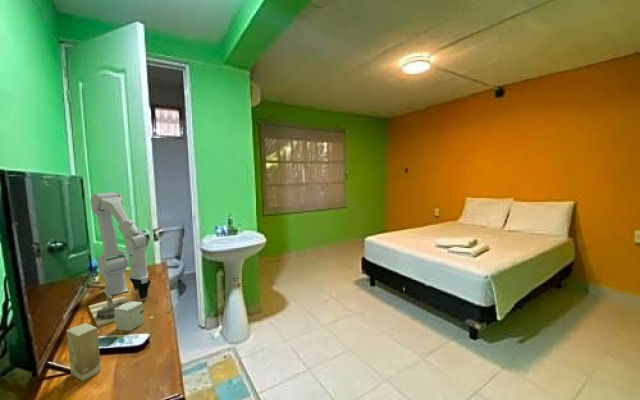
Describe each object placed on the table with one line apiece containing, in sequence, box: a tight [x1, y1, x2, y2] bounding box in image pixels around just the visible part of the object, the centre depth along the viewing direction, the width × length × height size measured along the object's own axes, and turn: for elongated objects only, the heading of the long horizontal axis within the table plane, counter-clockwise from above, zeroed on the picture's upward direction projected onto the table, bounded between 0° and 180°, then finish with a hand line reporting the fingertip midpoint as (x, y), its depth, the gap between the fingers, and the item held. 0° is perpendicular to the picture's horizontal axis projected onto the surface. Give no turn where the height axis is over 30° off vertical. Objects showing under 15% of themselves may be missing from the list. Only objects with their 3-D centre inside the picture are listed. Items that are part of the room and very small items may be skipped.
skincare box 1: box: [66, 322, 102, 382], centre depth 75 cm, size 6×4×12 cm
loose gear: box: [132, 288, 151, 303], centre depth 119 cm, size 5×5×4 cm
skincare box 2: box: [114, 300, 146, 332], centre depth 98 cm, size 6×6×7 cm
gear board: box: [88, 295, 130, 328], centre depth 110 cm, size 20×12×4 cm, turn 45°
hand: (141, 295), depth 119 cm, fingers closed on loose gear, 5 cm apart
